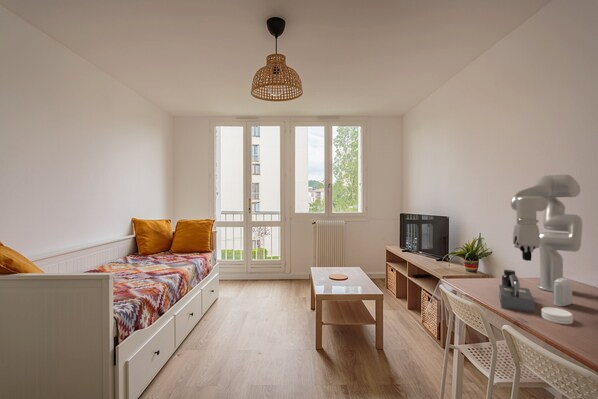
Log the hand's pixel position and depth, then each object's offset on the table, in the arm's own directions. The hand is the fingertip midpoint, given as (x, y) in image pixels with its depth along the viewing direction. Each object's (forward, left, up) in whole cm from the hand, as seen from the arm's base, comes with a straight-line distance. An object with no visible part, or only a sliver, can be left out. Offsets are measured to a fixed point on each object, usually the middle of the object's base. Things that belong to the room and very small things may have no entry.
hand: (526, 260), depth 138 cm
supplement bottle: (-14, -6, -21) cm, 26 cm away
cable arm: (+1, -5, -12) cm, 13 cm away
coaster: (+16, +8, -22) cm, 28 cm away
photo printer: (-7, +14, -21) cm, 26 cm away
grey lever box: (+4, -5, -21) cm, 22 cm away
